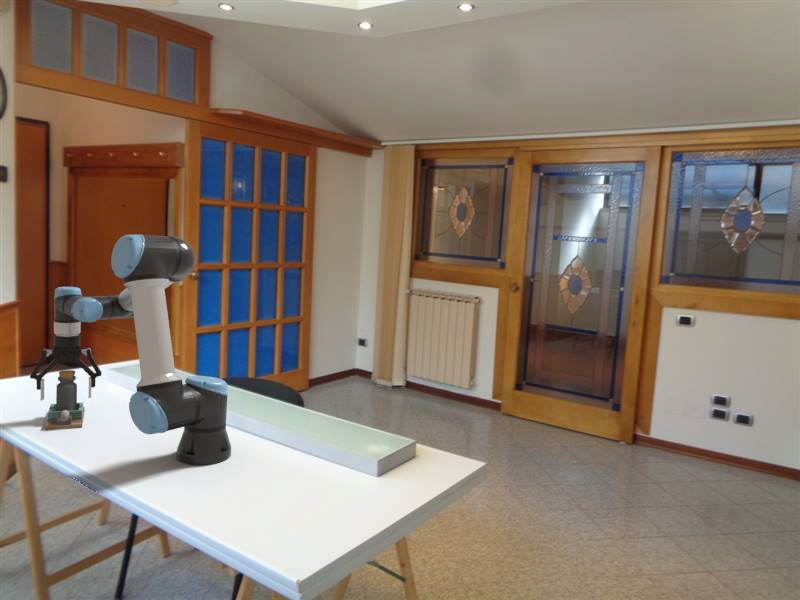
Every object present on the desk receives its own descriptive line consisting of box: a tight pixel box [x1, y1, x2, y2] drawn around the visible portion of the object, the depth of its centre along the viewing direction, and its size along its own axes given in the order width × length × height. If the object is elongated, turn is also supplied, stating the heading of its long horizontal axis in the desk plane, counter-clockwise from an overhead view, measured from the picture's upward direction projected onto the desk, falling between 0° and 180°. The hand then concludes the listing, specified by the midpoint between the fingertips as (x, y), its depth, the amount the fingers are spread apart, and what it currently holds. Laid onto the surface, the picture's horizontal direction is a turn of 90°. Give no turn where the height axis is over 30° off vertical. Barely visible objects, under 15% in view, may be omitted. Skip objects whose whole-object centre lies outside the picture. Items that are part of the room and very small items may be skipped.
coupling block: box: [44, 402, 86, 431], centre depth 192 cm, size 19×10×5 cm, turn 26°
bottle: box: [55, 369, 78, 411], centre depth 192 cm, size 6×6×15 cm
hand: (66, 398), depth 192 cm, fingers open, 13 cm apart
